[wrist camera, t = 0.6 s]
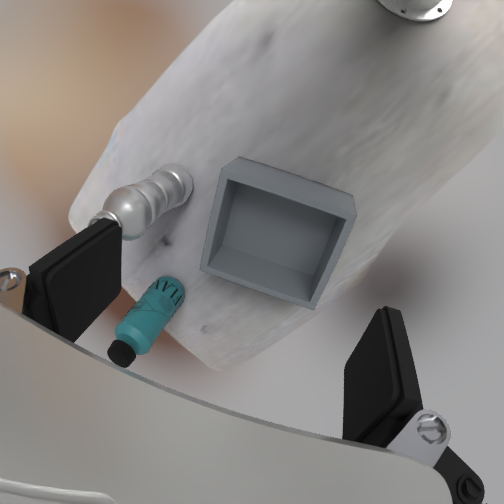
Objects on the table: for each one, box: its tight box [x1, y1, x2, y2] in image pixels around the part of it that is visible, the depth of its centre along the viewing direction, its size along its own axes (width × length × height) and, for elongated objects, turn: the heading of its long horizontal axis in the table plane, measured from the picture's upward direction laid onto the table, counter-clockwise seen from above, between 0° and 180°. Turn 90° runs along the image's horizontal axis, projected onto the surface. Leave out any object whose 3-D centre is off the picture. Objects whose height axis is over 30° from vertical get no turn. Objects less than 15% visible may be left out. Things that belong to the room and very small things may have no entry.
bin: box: [199, 157, 357, 310], centre depth 44 cm, size 15×17×8 cm
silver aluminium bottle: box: [88, 164, 193, 241], centre depth 39 cm, size 6×7×20 cm
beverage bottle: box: [107, 276, 185, 368], centre depth 49 cm, size 6×7×20 cm
